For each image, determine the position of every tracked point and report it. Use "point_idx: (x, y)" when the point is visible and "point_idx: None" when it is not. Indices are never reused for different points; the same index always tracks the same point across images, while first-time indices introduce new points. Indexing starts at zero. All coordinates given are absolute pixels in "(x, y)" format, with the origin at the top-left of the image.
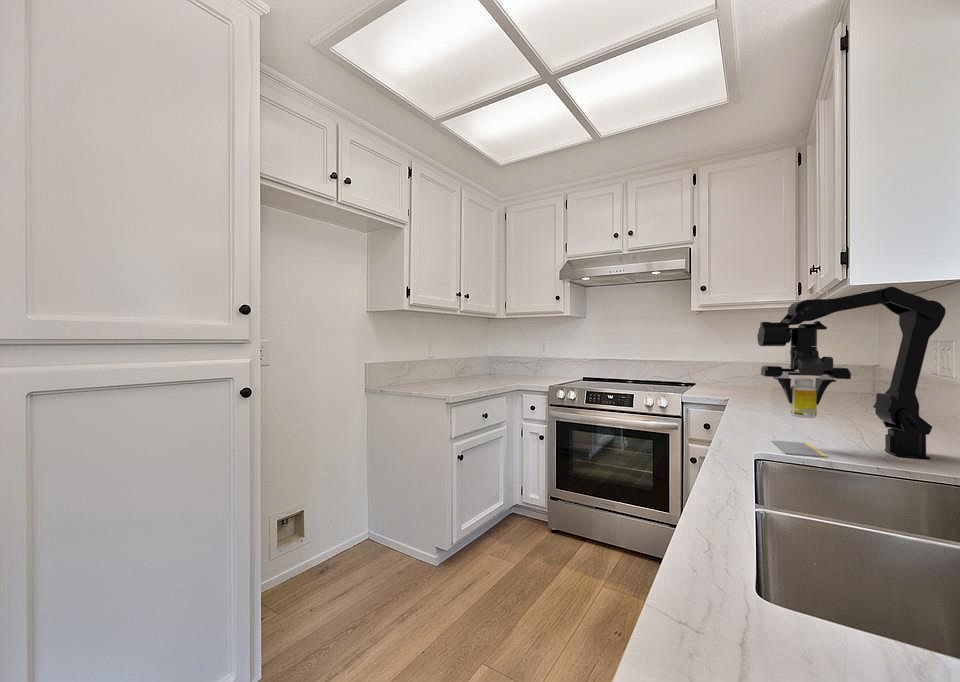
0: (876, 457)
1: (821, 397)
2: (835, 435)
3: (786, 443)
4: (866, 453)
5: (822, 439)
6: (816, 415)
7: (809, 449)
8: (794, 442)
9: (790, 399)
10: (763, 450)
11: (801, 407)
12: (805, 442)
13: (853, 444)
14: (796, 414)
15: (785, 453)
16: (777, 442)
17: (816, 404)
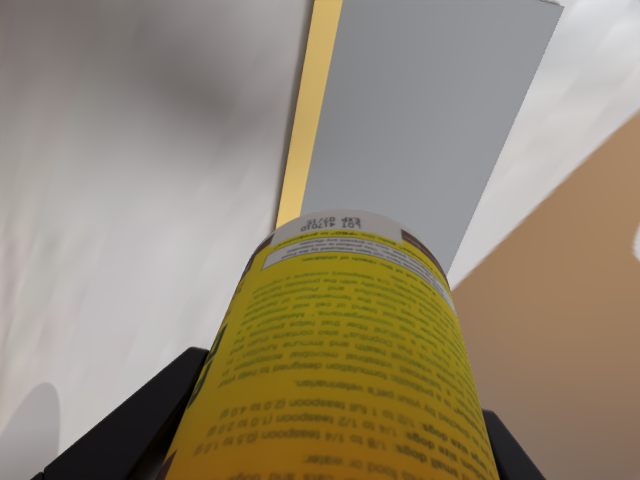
0: (29, 19)
1: (115, 411)
2: (84, 425)
3: None
4: (55, 116)
5: (161, 366)
6: (252, 254)
7: (339, 137)
8: None
9: (506, 449)
10: (636, 101)
11: (423, 288)
12: None
13: (61, 294)
14: (441, 267)
15: (560, 12)
16: None
17: (221, 331)
